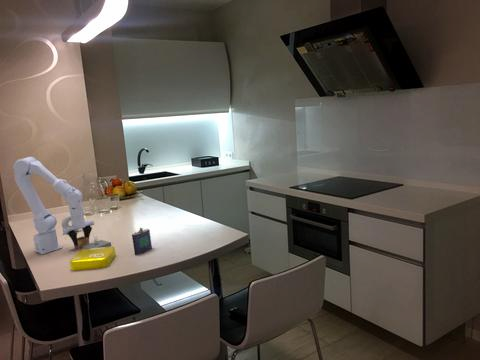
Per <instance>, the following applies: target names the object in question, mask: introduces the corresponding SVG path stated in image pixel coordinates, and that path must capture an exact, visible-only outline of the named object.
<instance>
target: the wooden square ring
mask: <svg viewBox="0 0 480 360" xmlns="http://www.w3.org/2000/svg"><path fill="white" fill-rule="evenodd" d="M77 242H78V246H74V245H73V247H74V249H75V248H76V249H78V250H82V246H84V245H87V244H90V237H89V238H88V237H84V235H82V236H80V237H77Z"/></svg>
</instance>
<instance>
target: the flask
mask: <svg viewBox="0 0 480 360" xmlns="http://www.w3.org/2000/svg"><path fill="white" fill-rule="evenodd" d="M131 237H132V239H131V240H132V243H133V244H132V245H133V251H134V255H135V256H136V255H138V256H139V255H140V254H144V253H146V252H148V251H150V250H152V248H153V245H152V239H151V230H150V229H149V228H145V229H144V228H143V227H139V229H138V231H135V232H134V233H132V235H131Z"/></svg>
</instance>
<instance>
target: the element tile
mask: <svg viewBox="0 0 480 360" xmlns="http://www.w3.org/2000/svg"><path fill="white" fill-rule="evenodd" d="M116 257H117V252H116V248H115V246H112V245H111V246H108V247H101V248H90V249H79V251H78V252H77V253H76V254H75V255H74V256H73V257H72V258H71V259H70V261H69V264H70V269H71V271H72V272H76V271H88V270H99V269H105V268H106V269H107V267H110V265H111V264H112V262H113V261H114V259H115V258H116Z"/></svg>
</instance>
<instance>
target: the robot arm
mask: <svg viewBox="0 0 480 360" xmlns="http://www.w3.org/2000/svg"><path fill="white" fill-rule="evenodd" d="M12 169H13V171H14V182H15V183H16V186H17V188H19V190H20V192H21V194H22V196H23V198H24V199H25V201H26V203H27V205H28V207H29V208H30V211H31V212H32V214H33V218H32V219H33V220H32V221H33V223H34V229H35V230H36V232H37V233H36V234H34V235H33V242H34V249H35V250H34V252H36V253H38V254H41V255H44V254H48V253H51V252H53V251H58V250H60V249H63V246H60V245H59V242H58V235H57V230H56V225H57V222H58V221H57V218H56V217H55V216H54V215H53V214H52V213H51V211H49V210H47V209H46V207H45V206H44V204H43V202H42V200H41V198H40V197H39V195H38V193H37V191H36V189H35V188H34V185H33V183H32V181H31V180H30V178H31V176H32V175H34V174H35V175H36V174H37V175H39V176H40V177H41V178H43V179H44V180H45V181H47V182H49V183H50V184H51V185H52V188H53V190H55V192H57V193H58V194H59V195H61V196H62V197H63V198H65V202H66V203H67V204H68V209H69V214H70V216H71V221H70V222H71V225H69V226H70V227H67V228H65V229H63V228H62V233H63V234H64V235H65V234H67V235H68V236H69V238H70V239H71V241H72V243H73V247H74V246H78V242H77V238H78V229H79V230H82V232H83V236H84V237H88V238H89V239H90V236H91V232H92V230H93V227H92V226H95V221H94V220H89V221H85V214H84V207H83V203H82V199H83V197H84V196H83V193H82V191H81V190H80V189H78V188H75V187H74V186H72V185H71V184H69V183H68V181H67V180H66V179H62V178H57V176H55V175H54V174H53V173H52V172H51V171H49V170H48V169H47V168H46V167H45V166H44V165H43V164H42V163H41V161H39V160H38V159H36V157H34V156H27V157H23V158H18V159H17V160H16V161H15V163H14V164H13V167H12ZM75 230H77V231H75Z"/></svg>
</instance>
